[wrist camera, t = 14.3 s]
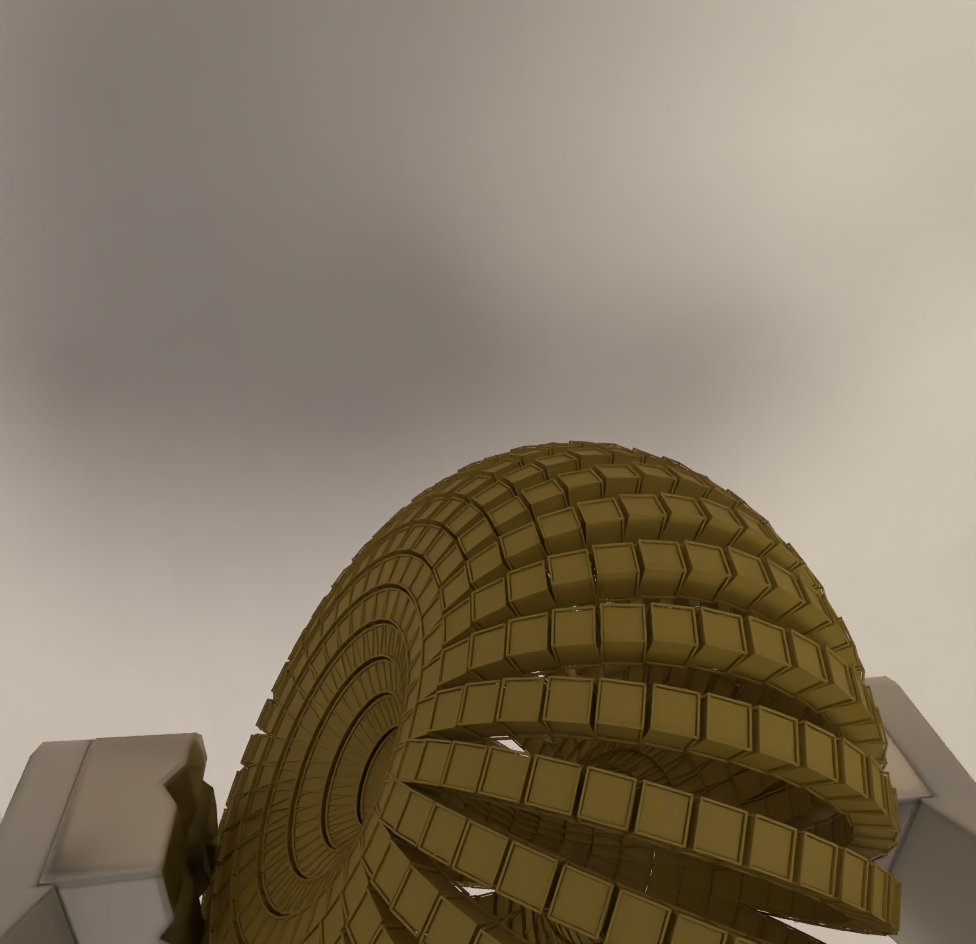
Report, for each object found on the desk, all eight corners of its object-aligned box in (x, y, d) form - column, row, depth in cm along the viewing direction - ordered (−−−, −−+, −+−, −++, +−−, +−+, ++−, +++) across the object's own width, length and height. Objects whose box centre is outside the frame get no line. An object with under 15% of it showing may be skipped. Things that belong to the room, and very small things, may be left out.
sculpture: (419, 793, 14) (478, 1569, 7) (192, 711, 12) (-14, 1603, 6) (744, 428, 11) (1351, 1112, 4) (506, 265, 10) (865, 932, 3)
